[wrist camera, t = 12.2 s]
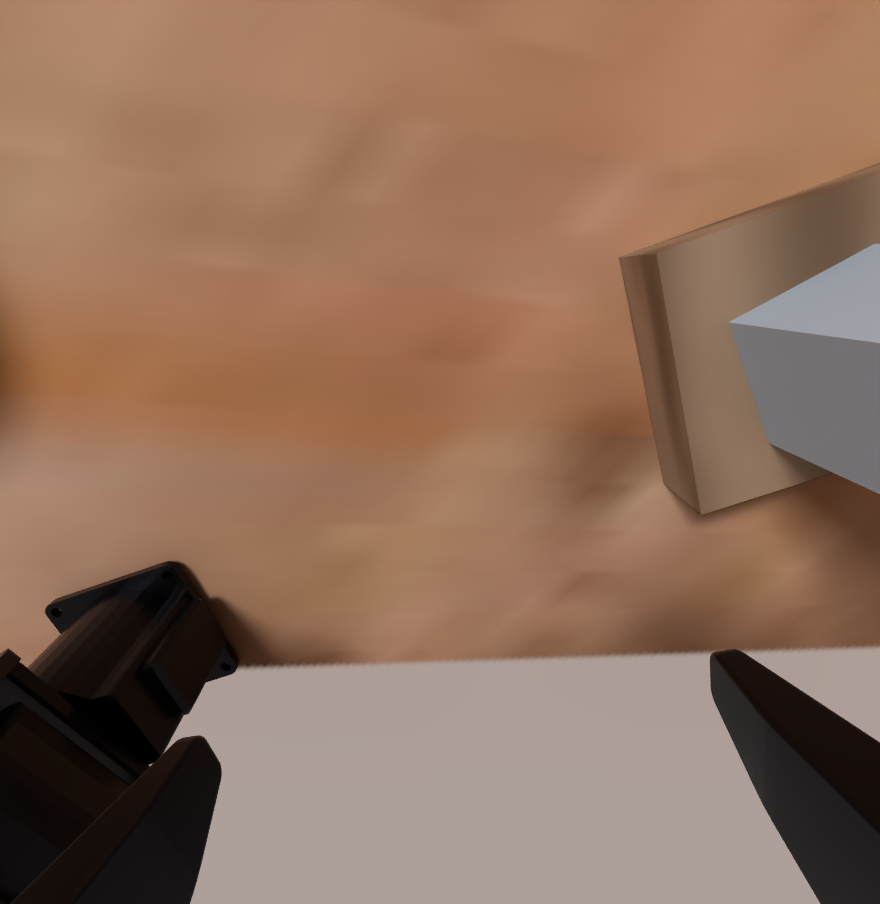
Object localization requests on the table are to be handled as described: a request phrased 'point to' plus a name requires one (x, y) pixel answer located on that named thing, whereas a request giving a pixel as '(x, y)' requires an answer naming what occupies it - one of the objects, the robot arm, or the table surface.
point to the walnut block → (711, 340)
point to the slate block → (821, 367)
